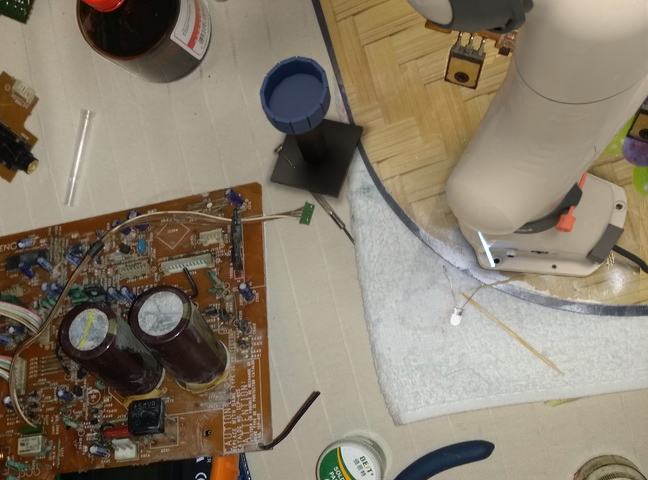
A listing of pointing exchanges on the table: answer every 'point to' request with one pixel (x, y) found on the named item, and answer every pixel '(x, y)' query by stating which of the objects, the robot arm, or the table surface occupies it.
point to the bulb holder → (295, 95)
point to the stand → (318, 158)
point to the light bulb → (221, 0)
